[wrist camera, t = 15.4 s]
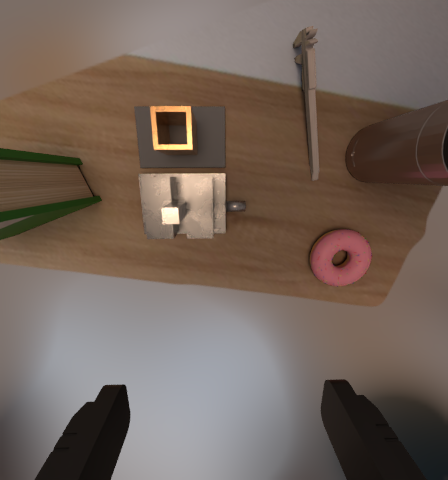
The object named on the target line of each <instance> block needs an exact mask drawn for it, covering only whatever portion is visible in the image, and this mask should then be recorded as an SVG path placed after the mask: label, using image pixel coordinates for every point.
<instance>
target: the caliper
mask: <svg viewBox="0 0 448 480" xmlns="http://www.w3.org/2000/svg"><path fill="white" fill-rule="evenodd" d="M316 32H317V29H314V30H313V26H311V27H307V28H305V29H303V30H302V31H301V32H300V33H299V34H298V36H297V38H296V39H295V41H294V43H293V48H296V47H299V46H301V45H302V54H300V55H298V56H296V58H295V62H296V63H298V64H301V65H302V91H305V105H306V119H307V134H308V149H309V164H310V171H311V175H312V181H314V180H318V173H319V155H318V135H317V116H316V96H315V88H316V68H315V49H314V48H313V46H314V44H315V43H317V42H318V40H317V39H316V38H314V39H313V37H314V36H315V35H316Z"/></svg>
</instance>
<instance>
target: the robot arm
mask: <svg viewBox="0 0 448 480" xmlns="http://www.w3.org/2000/svg"><path fill="white" fill-rule="evenodd" d="M346 164H347V168H348V170H349V172H350V173H351V175H352V176H353V177H354V178H356V179H357V180H359V181H363V182H372V183H393V184H417V185H440V186H448V100H446V101H443V102H440V103H437V104H434V105H431V106H427V107H424V108H421V109H418V110H415V111H412V112H409V113H406V114H403V115H400V116H397V117H394V118H391V119H388V120H385V121H382V122H379V123H376V124H373V125H370V126H367V127H365V128H363V129H362V130H360V131H359V132H358V133H357V134H356V135H355V136H354V137H353V139H352V140H351V142H350V144H349V146H348V148H347V152H346ZM321 416H322V421H323V424H324V427H325V429H326V431H327V434H328V436H329V439H330V441H331V444H332V445H333V448H334V451H335V453H336V455H337V458H338V460H339V462H340V465H341V467H342V469H343V472H344V474H345V476H346V479H347V480H427V479H426V478H425V477H424V475H423V474H422V472H421V471H420V469H419V468H418V466H417V465H416V463H415V462H414V460H413V459H412V458H411V456H410V455H409V453H408V452H407V450H406V449H405V448H404V446H403V444H402V443H401V442H400V441H399V440H398V437H397V436H396V434H395V433H394V431H393V430H392V428H391V427H389V425H388V423H387V421H386V420H385V418H384V417H383V415H382V414H381V412H380V411H379V410H378V408H377V407H376V406H375V405H374V404H372V403H371V402H370V401H369V400H368V399H367V398H366V397H365V396H364V395H356V393H355V392H354V390H353V388H352V387H351V385H350V384H349V382H348V381H346V380H326V381H325V383H324V390H323V396H322V403H321ZM129 423H130V408H129V402H128V395H127V389H126V386H125V385H105V386H103V388H102V389H101V391H100V392H99V394H98V396H97V398H96V400H95V402H87V403H86V404H85V405H84V406H83V407H82V408H81V409H80V410H79V411H78V412H77V413H76V414H75V415H74V416H73V417H72V419H71V420H70V422H69V424H68V425H67V427H66V429H65V430H64V432H63V435H62V437H60V439H59V440H58V442H57V443H56V445H55V447H54V450H53V452H51V453H50V455H49V457H48V458H47V460H46V462H45V463H44V465H43V467H42V468H41V470H40V472H39V473H38V475H37V477H36V478H35V480H111V477H112V474H113V471H114V468H115V466H116V463H117V460H118V457H119V454H120V452H121V448H122V446H123V443H124V440H125V437H126V434H127V431H128V428H129Z"/></svg>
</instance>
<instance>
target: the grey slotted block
mask: <svg viewBox="0 0 448 480" xmlns="http://www.w3.org/2000/svg"><path fill="white" fill-rule="evenodd" d="M138 176H139V185H140V195H141V204H142V214H143V223H144V233H145V234H147V239H174V238H175V236H176V235H177V234H187V239H190V238H214V233H226V215H225V173H210V174H138ZM245 208H246V204H245V201H226V211H245Z"/></svg>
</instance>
